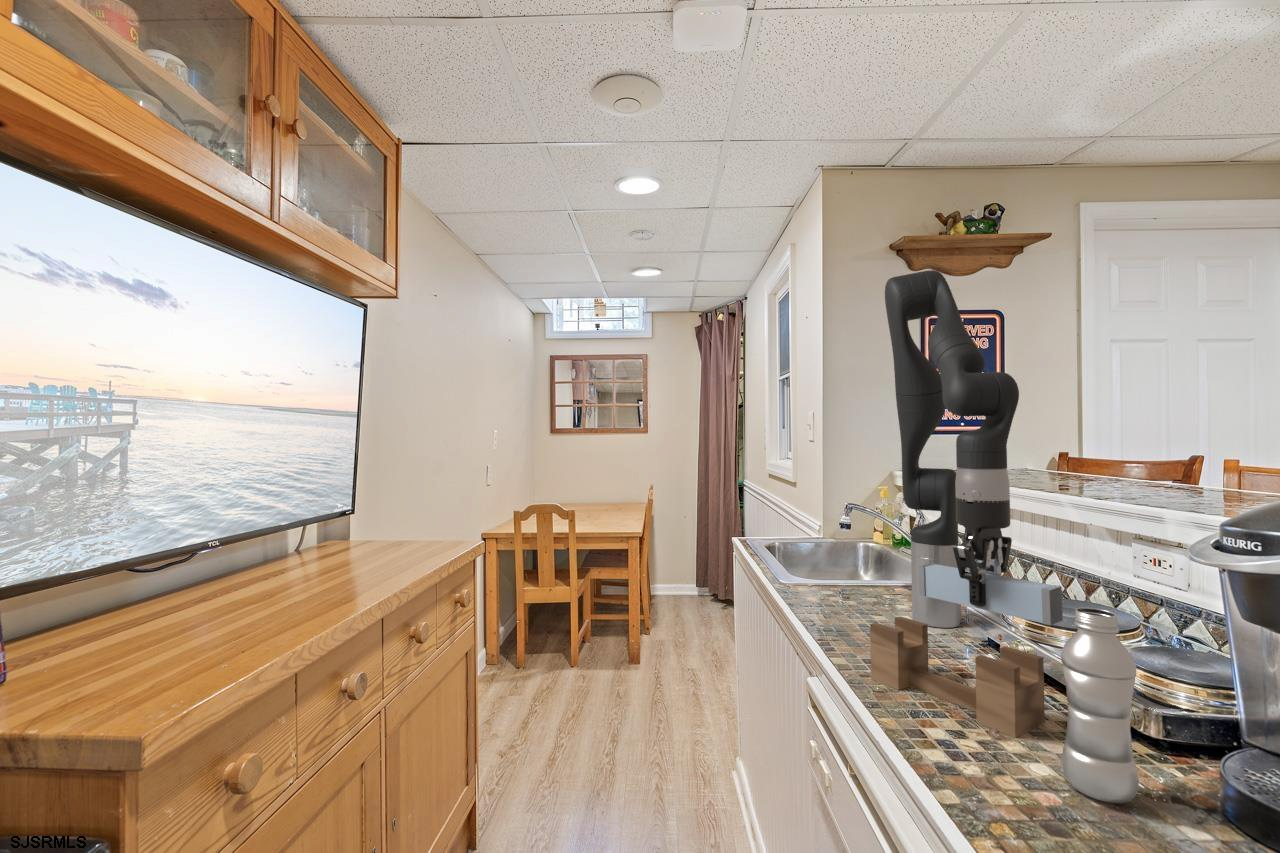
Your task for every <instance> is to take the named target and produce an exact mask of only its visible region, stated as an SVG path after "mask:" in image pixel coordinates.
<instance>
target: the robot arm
mask: <svg viewBox="0 0 1280 853" xmlns="http://www.w3.org/2000/svg"><path fill="white" fill-rule="evenodd" d="M884 303H885V310H886V316H887V323H888V330H889V336H890V342H891V347H892V348H891V349H892V355H893V356H892V357H893V371H894V387H895V399H896V400H895V401H896V409H897V417H898V426H899V433H900V434H899V435H900V443H901V445H900V446H901V448H900V450H901V482H902V484H901V486H902V497H903V501H904V503H905V505H906V507H907V508H908V509H911V510H917V511H933V512H940V516H939V517H938V518H937V519H935V520H933V521H931V522H928V523H925V524H919V525H915V526H914V527H912V528H911V530H910V553H911V554H910V556H911V557H910V558H911V563H910V564H911V611H912V612H911V618H912V619H911V620H915V621H918V622H922V623H925V624H928V627H934V628H944V629H945V628H947V629H948V628H956V627H959V626H960V624H961V622H962V604H957V603H953V602H949V601H944V600H940V599H936V598H931V597H927V596H921V595H919V571H918V566H921V565H926V564H930V563H933V564H937V565H943V566H949V567H954V568H958V571H959V575H960V578H963V579H966V580H968V581H969V598H970V603H971V604H972V605H975V606H979V607H983V606H985V605H986V583H985V579H986V573H988V574H993V575H999V576H1003V574H1006V573H1007V571H1008V567H1009V561H1010V560H1009V559H1010V555H1011V549H1012V548H1011V547H1012V542H1013V540H1012V537H1009V536H1003V533H1002V529H1006V528H1009V527H1010V526H1011V497H1010V496H1011V495H1010V494H1011V493H1010V492H1011V490H1010V489H1011V488H1010V480H1009V474H1008V473H1009V472H1008V469H1007V468H1008V451H1007V450H1008V449H1007V448H1008V447H1007V444H1008V440H1009V435H1010V432H1011V428H1012V424H1013V420H1014V417H1015V414H1016V411H1017V407H1018V404H1019V400H1020V391H1019V390H1020V389H1019V385H1018V383H1017V382H1016V380H1015V379H1014V377H1013V376H1012V375H1011V374H1009V373H1006V372H1002V371H995V372H994V371H990V372H984V370H985V366H986V361H985V357H984V355H983V353H982V352H981V350H980V349H979V347H978V345H977V344H976V343H975V341H974V340H973V338H972V337H971V335H970V334H969V332H968V330H967V329H966V327H965V325H964V323H963V320H962V317H961V313H960V311H959V308H958V306H957V303H956V301H955V298H954V295H953V293H952V290H951V288H950V285H949V284H948V282H947V280H946V277H945V276H944V275H943V273H942V272H940V271H938V270H934V269H933V270H924V271H918V272H913V273H909V274H907V273H906V274H901V275H898V276H893V277H890V278H889V279H888V280H887V281H886V282H885V287H884ZM931 317H937V319H936V321H935V324H934V325H933V327H932V330H931V332H930V334H929V336H928V340H927V350H928V354H929V355H930V358H931V360H932V362H933V363H934V364H932V362H931V361H930V360H929V359H928V358H927V357H926V355H924V353H923V352H922V351H921V349H920V348H919V347H918V346H917V344H916V343H915V341H914V339H913V337H912V334H911V331H910V329H909V321H914V320H915V321H916V320H920V319H925V318H926V319H927V318H931ZM946 409H947V411H948V412H950V413H951V414H953V415H955V416H958V417H985V419H984V421H983V423H982V425H981V426H980V428H977V429H974V430H969V431H964V432H961V433H959V435H957V437H956V441H955V443H956V444H955V447H956V452H955V453H956V456H955V457H956V458H955V459H956V471H955V470H954V469H953V468H951V469H950V468H934V467H933V468H930V467H927V468H926V467H925V468H924V467H920V466H919V465H920V464H919V462H920V457H921V455H922V452H923V450H924V448H925V445H926V444H927V442H928V441H929V439H930V437H931V435H932V434H933V433H934V431H935V430H936V429H937V427H938V426H939V425H940V423H941V421H942V419H943V417H944V415H945V412H946ZM959 526H962V527H964V533H963V537H962V538H963V539H962V540H963V542H962V543H961V544H959ZM978 569H979V570H978ZM978 572H979V573H978Z"/></svg>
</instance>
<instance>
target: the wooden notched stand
mask: <svg viewBox="0 0 1280 853" xmlns="http://www.w3.org/2000/svg"><path fill="white" fill-rule="evenodd" d="M869 627H870V628H869V630H870V631H869V632H870V635H869V637H870V643H869V644H870V680H872V681H874V682H876V683H879V684H881V685H884V686H886V687H889V688H892V689H893V690H894V689H895V690H897V691H901V690H904V689H906V688H908V687H911V688H914V689H916V690H919V691H921V692H924V693H926V694H929V695H931V696H934V697H936V698H940V699H941V700H944V701H947V702H950V703H952V704H954V705H957V706H960V707H962V708H965V709H968V710H969V711H973V712H975V713H976V723H977V724H980V725H982V726H985V727H988V728H990V729H993V730H995V731H997V732H999V733H1002V734H1005V735H1007V736H1009V737H1012V738H1015V739H1016V738H1018V737H1020V736H1023V735H1024V734H1026V733H1028V732H1029V731H1031V730H1033V729H1035V728H1037V727H1039V726H1041V725H1043V724H1045V723H1046V721H1045V720H1046V718H1045V716H1046V714H1045V713H1046V712H1045V710H1046V709H1045V707H1046V706H1045V671H1044V668H1045V666H1044V664H1045V662H1044V656H1041V655H1038V654H1034V653H1032V652H1031V653H1030V652H1027V651H1024V650H1020V649H1017V648H1012V647H1009V646H1005V645H1004V646H1002V647H1000V648H999V659H996V658H992V657H989V656H986V655H983V654H979V655H977V656H975V661H974V662H975V687H972V686H971V685H970V686H969V685H966V684H963V683H961V682H958V681H955V680H953V679H949V678H948V677H944V676H943V675H942V676H941V675H938V674H936V673H933V672H930V671H929V639H928V638H929V630H928V629H929V626H928V624H925V623H922V622H918V621H915V620H913V619H911V618H907V617H904V616H900V615H899V616H896V617H894V627H892V626H890V625H889V626H888V625H885V624H882V623H878V622H873V623H870V624H869Z"/></svg>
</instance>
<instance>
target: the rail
mask: <svg viewBox="0 0 1280 853" xmlns="http://www.w3.org/2000/svg"><path fill="white" fill-rule="evenodd" d="M918 571H919V595H921V596H927V597H931V598H936V599H940V600H944V601H949V602H953V603H957V604H961V606H968V607H971V608H976V609H980V610H984V611H989V612H992V613H997V614H1002V615H1005V616H1010V617H1014V618H1019V619H1023V620H1028V621H1033V622H1035V623H1036V622H1037V623H1040V624H1043V625H1047V626H1052V625H1055V624H1057V623H1060V622H1062V621H1063V620H1064V617H1063V613H1064V612H1063V593H1062V592H1063V591H1062V590H1063V589H1062V586H1061V585H1056V584H1049V583H1045V582H1044V583H1042V582H1038V581H1031V580H1026V579H1020V578H1015V577H1009V576H1003V575H1002V576H999V575H993V574H988V573H986V579H985V583H986V605H985V606H983V607H979V606H975V605H972V604H971V603H970V598H969V581H968V580H966V579H963V578H960V575H959V571H958V568H954V567H949V566H943V565H937V564H933V563H930V564H926V565H921V566H918ZM978 573H979V571H978Z"/></svg>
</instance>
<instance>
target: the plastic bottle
mask: <svg viewBox="0 0 1280 853" xmlns="http://www.w3.org/2000/svg"><path fill="white" fill-rule="evenodd" d="M1073 621H1074V622H1073V624H1074V627H1076V628H1077V631H1076V632H1074V633H1073V634H1072V635H1071V636H1070V637H1069V638H1068V639H1067V641H1066V642H1065V643H1064V645H1063V647H1062V650H1061V653H1060V657H1061V658H1060V659H1061V663H1062V670H1063V671H1062V672H1063V675H1064V682H1065V688H1066V701H1067V721H1066V722H1067V725H1066V732H1065V741H1064V744H1063V746H1062V754H1061V760H1060V761H1061V766H1062V772H1063V774H1064V776H1065V778H1066V779H1067V781H1068V783H1069V784H1070V785H1071V786H1072V787H1073V788H1074V790H1077V791H1078V792H1080V793H1082V794H1083V795H1085V796H1087V797H1090V798H1092V799H1095V800H1098V801H1101V802H1104V803H1105V802H1106V803H1109V804H1120V805H1121V804H1123V805H1124V804H1128V803H1130V802H1131V801H1132V800H1133V799H1134V798H1135V797H1136V796H1137V794H1138V789H1139V784H1140V778H1139V773H1138V768H1137V764H1136V760H1135V758H1134V752H1133V751H1134V750H1133V742H1132V733H1131V715H1132V700H1133V693H1134V688H1135V683H1136V676H1137V664H1136V662H1135V659H1134V657H1133V656H1132V654H1131V653H1130V651H1129V650H1128V649H1127V647H1126V646H1125V645H1124V644H1123V643H1122V642H1121V640H1120V639H1119V638H1118V637H1117V634H1119V633H1120V627H1119V626H1118V625H1119V624H1118V615H1117V614H1116V613H1115V612H1113V611H1110V610H1105V609H1101V608H1095V607H1094V608H1093V607H1076V608H1074V620H1073Z"/></svg>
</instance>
